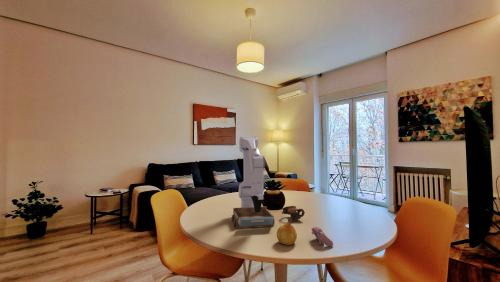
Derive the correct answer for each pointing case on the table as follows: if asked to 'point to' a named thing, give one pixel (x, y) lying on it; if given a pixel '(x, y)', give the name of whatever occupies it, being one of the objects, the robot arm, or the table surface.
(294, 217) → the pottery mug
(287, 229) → the fruit
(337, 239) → the table surface
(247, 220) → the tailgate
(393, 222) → the table surface
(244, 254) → the table surface
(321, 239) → the pink animal figurine
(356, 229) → the table surface
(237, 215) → the cart bed
